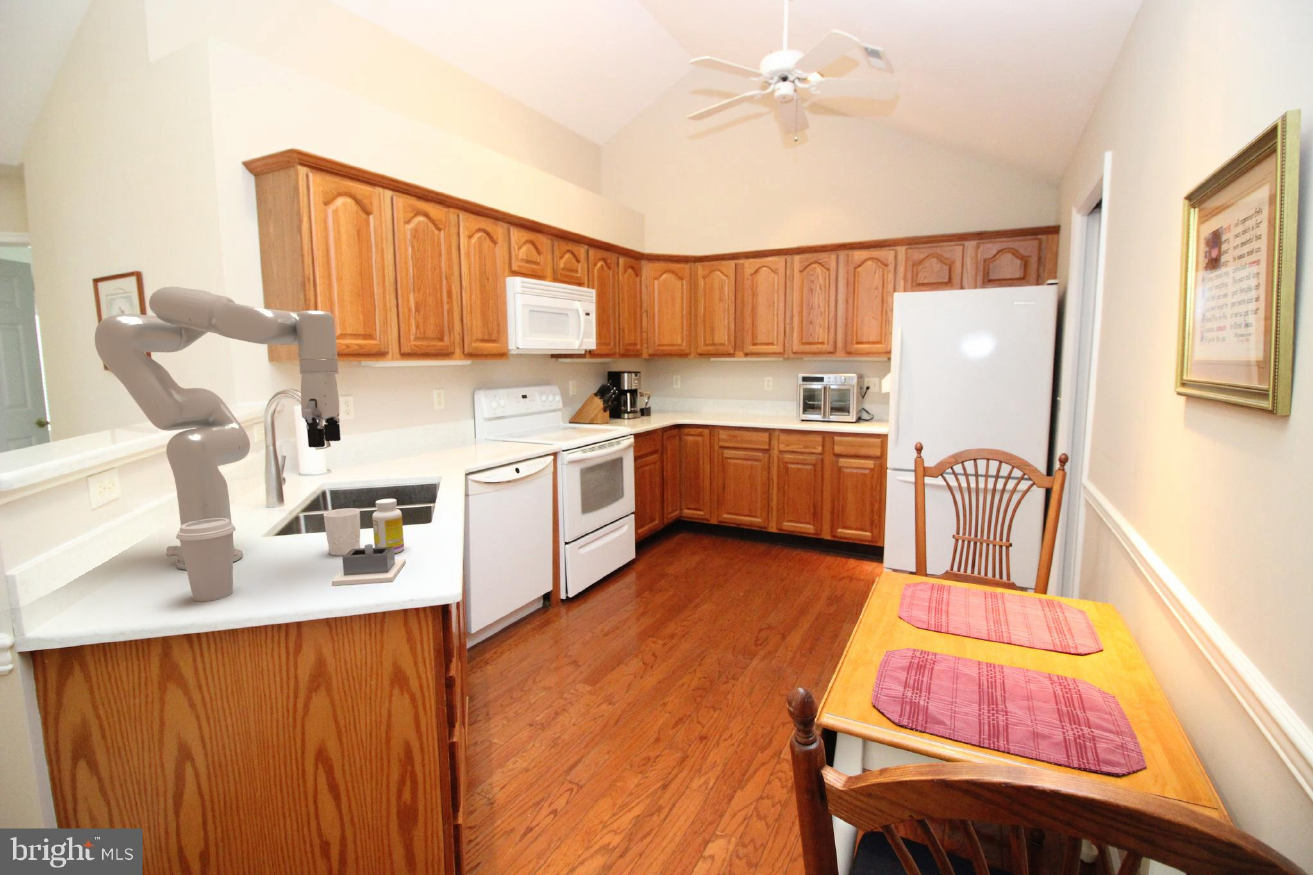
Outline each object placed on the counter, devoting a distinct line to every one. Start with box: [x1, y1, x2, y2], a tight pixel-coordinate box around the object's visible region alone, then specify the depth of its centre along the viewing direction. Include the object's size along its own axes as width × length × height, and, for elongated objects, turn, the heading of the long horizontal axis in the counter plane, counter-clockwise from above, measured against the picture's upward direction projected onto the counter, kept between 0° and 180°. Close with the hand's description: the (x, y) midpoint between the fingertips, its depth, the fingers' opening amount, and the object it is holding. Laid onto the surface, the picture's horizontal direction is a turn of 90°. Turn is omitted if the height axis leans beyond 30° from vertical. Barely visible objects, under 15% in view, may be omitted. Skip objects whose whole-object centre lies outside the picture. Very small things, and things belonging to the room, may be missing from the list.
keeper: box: [331, 543, 407, 586], centre depth 133 cm, size 12×12×6 cm
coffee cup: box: [175, 518, 237, 602], centre depth 121 cm, size 10×10×15 cm
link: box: [342, 547, 396, 575], centre depth 133 cm, size 9×6×4 cm, turn 100°
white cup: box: [323, 507, 361, 557], centre depth 149 cm, size 8×8×10 cm
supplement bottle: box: [371, 498, 405, 555], centre depth 148 cm, size 7×7×13 cm
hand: (325, 443), depth 136 cm, fingers open, 9 cm apart
